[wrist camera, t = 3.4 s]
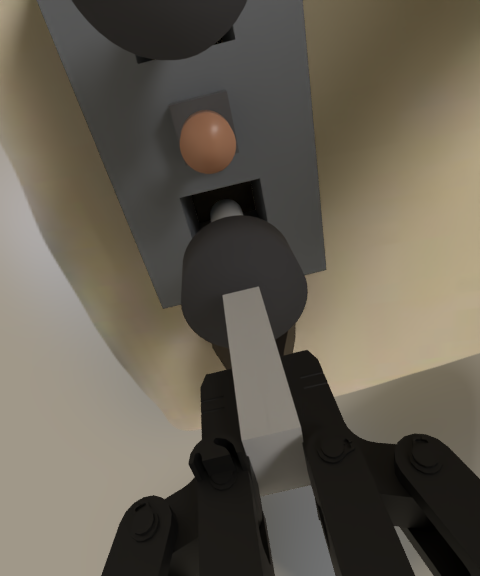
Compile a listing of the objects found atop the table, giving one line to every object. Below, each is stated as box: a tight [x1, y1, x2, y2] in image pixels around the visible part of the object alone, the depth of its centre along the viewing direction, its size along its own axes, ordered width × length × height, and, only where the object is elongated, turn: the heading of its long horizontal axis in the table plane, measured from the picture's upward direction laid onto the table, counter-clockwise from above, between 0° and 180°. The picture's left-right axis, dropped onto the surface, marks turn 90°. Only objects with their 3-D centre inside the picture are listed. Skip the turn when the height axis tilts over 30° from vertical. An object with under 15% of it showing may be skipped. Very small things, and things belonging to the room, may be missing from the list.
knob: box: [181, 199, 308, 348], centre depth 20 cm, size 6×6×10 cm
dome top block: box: [168, 90, 239, 174], centre depth 18 cm, size 3×3×5 cm
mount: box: [37, 0, 326, 309], centre depth 23 cm, size 22×12×8 cm, turn 12°
